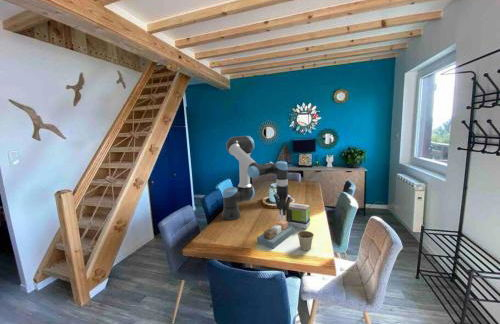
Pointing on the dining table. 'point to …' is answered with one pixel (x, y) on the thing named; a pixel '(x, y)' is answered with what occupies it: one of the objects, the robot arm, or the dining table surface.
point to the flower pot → (305, 239)
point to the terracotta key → (283, 224)
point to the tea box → (298, 215)
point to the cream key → (276, 229)
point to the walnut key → (269, 234)
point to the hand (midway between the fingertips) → (282, 219)
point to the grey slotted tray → (275, 238)
